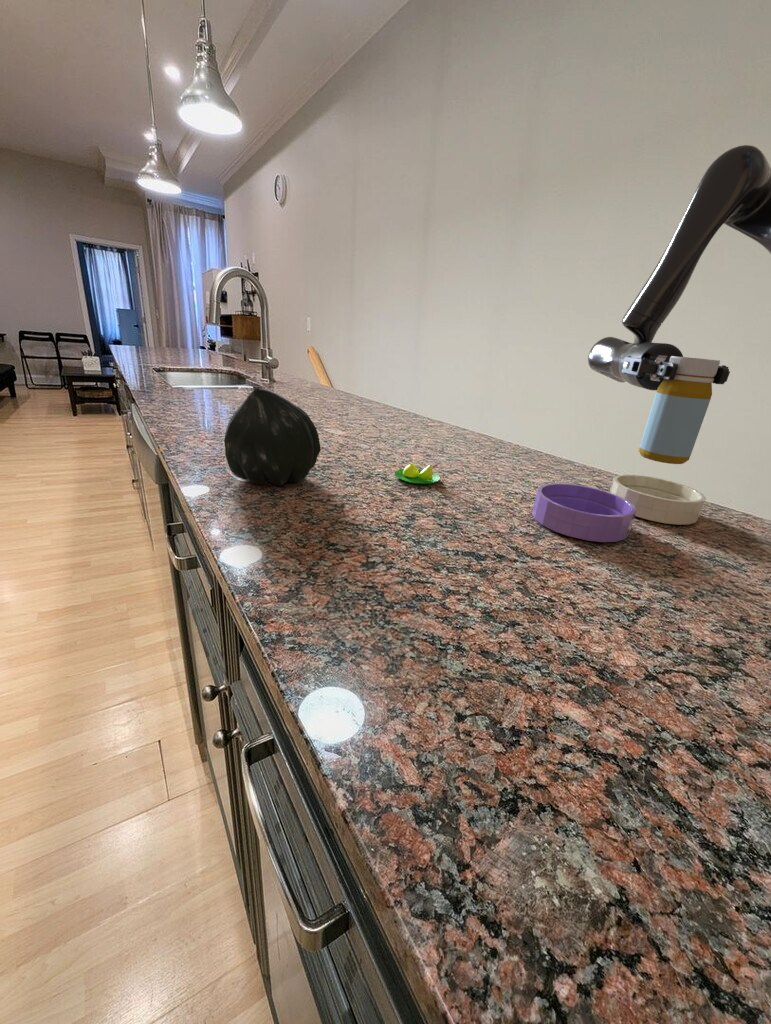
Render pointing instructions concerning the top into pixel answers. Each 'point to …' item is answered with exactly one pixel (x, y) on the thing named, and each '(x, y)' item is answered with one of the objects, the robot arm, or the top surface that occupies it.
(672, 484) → the cream bowl
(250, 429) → the squash
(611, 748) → the top surface
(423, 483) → the plate of pears
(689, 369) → the bottle
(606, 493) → the lavender bowl
